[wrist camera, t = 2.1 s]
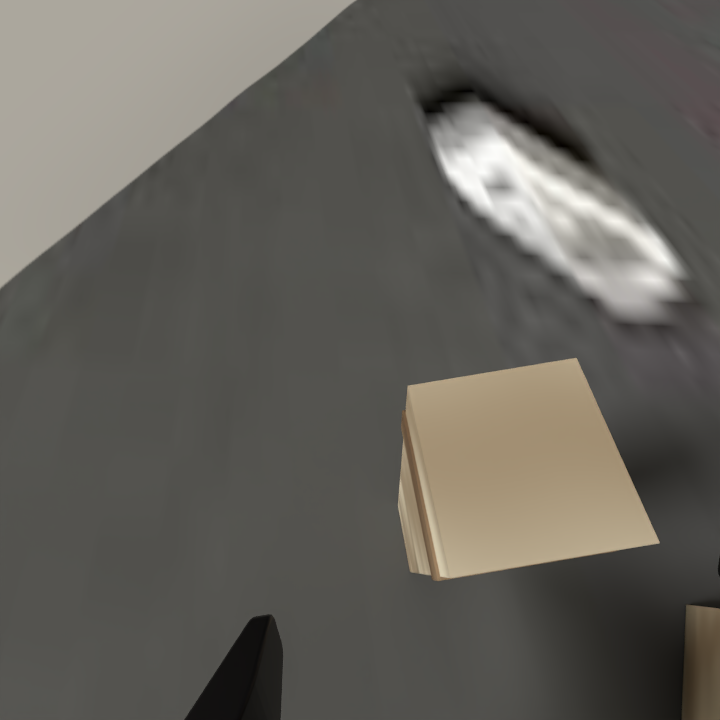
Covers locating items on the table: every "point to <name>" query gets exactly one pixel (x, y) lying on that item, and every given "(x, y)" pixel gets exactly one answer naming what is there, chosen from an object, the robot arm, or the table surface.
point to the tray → (701, 664)
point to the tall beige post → (512, 474)
